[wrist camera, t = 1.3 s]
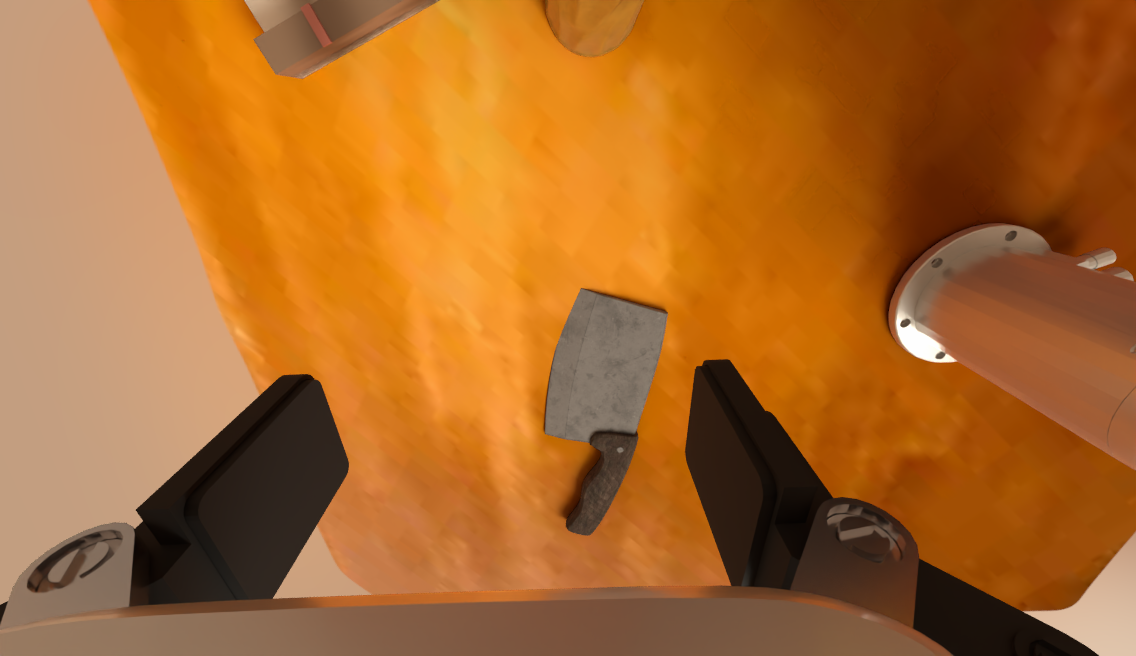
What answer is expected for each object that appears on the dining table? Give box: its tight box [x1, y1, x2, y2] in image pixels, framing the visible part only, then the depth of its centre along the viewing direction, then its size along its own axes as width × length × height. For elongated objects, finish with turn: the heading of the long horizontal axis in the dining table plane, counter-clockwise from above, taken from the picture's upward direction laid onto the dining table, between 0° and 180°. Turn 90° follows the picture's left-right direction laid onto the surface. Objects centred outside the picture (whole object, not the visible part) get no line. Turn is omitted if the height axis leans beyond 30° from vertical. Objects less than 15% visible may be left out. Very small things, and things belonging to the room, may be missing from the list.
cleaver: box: [545, 288, 668, 535], centre depth 42 cm, size 29×10×2 cm, turn 172°
